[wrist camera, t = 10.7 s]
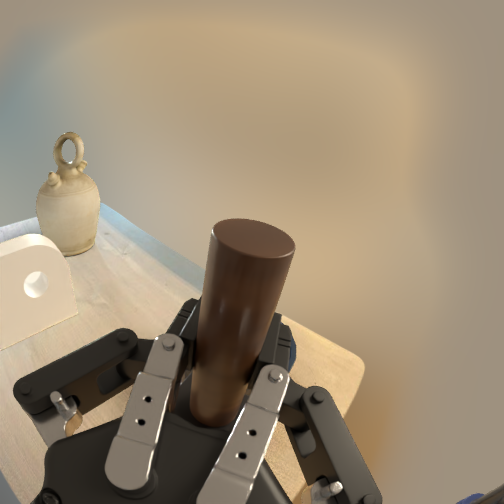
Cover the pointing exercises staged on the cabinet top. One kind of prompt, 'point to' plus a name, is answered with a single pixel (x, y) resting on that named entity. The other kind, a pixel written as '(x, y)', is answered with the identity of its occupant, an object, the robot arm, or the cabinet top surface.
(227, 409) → the brown cylinder
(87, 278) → the cabinet top surface
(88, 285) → the cabinet top surface
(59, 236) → the jug
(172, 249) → the cabinet top surface
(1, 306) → the tape dispenser
